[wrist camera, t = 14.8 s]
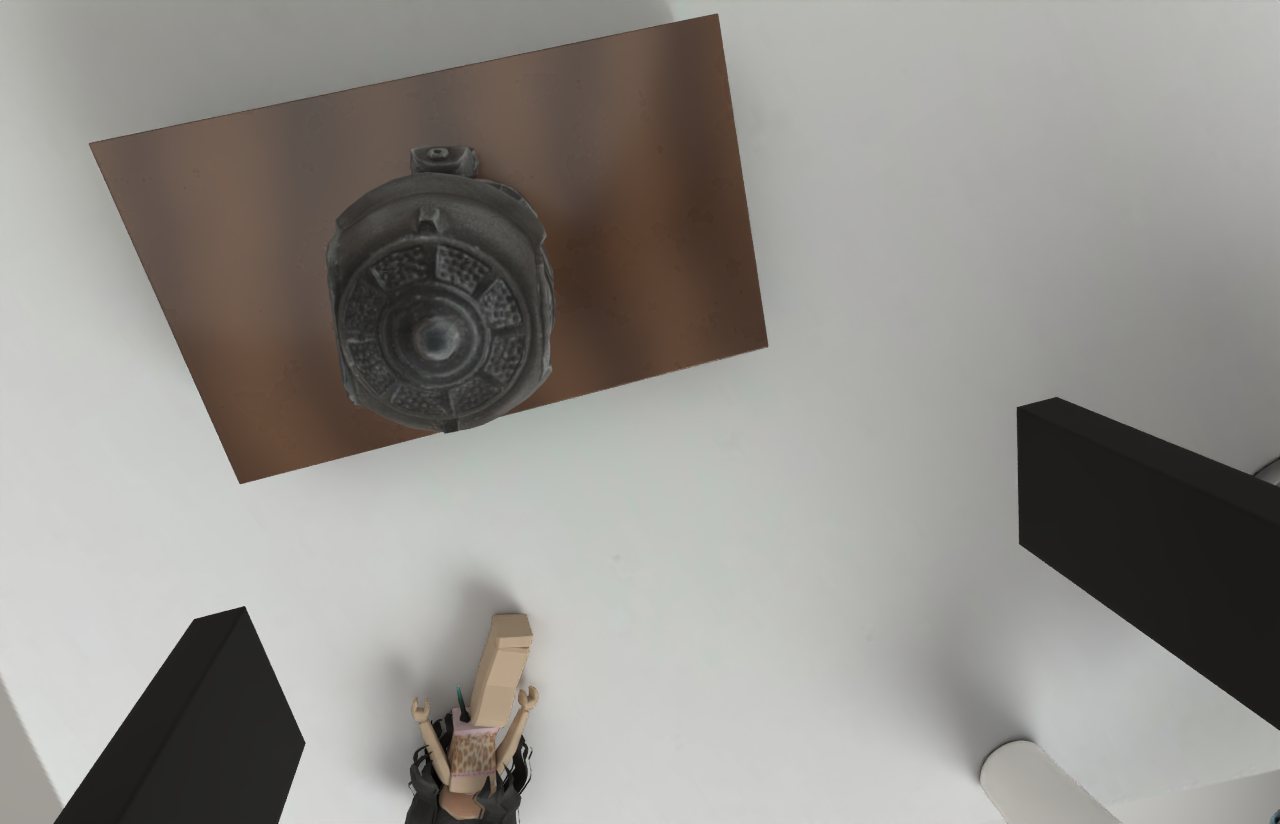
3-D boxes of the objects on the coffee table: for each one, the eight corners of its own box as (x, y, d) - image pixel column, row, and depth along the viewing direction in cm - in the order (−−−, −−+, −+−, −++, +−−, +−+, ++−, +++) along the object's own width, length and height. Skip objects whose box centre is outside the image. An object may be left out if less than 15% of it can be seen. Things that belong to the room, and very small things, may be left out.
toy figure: (415, 608, 42) (401, 826, 45) (418, 674, 36) (402, 918, 40) (539, 603, 44) (517, 811, 48) (562, 664, 38) (534, 895, 42)
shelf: (682, 37, 35) (718, 13, 29) (729, 322, 40) (769, 347, 34) (158, 147, 32) (87, 142, 27) (277, 436, 37) (239, 485, 31)
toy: (545, 355, 32) (586, 500, 18) (406, 362, 31) (336, 521, 17) (535, 149, 29) (574, 133, 15) (383, 149, 28) (277, 132, 14)
